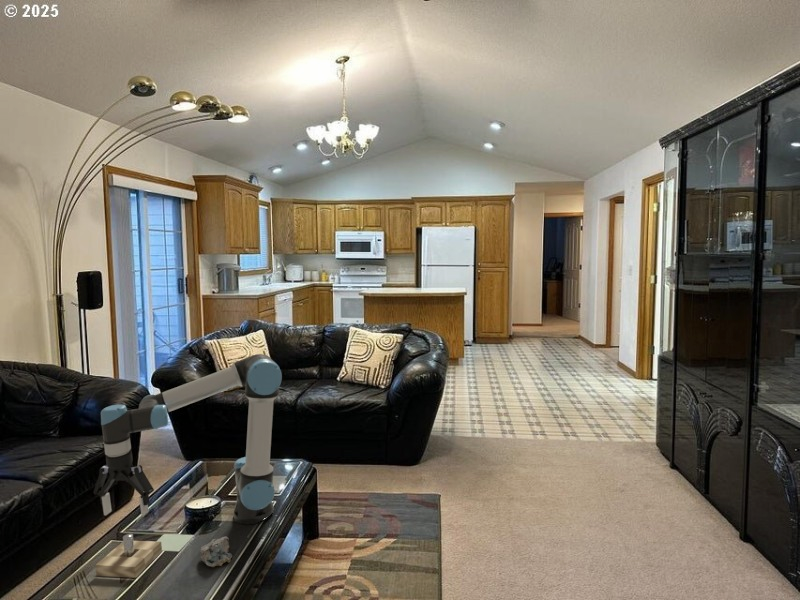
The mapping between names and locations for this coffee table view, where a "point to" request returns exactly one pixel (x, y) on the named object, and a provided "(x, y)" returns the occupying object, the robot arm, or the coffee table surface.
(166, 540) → the mat
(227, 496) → the coffee table surface
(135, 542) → the hole block
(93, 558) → the coffee table surface
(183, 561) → the coffee table surface
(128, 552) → the pin
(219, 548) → the mineral specimen
